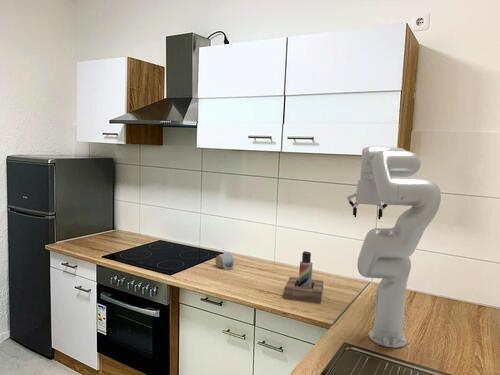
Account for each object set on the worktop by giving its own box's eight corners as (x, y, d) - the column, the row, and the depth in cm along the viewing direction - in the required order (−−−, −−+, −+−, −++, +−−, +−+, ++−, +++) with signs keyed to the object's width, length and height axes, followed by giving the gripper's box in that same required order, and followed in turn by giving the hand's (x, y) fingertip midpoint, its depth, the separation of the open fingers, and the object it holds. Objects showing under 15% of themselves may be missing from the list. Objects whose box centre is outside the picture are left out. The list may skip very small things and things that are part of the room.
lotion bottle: (302, 291, 178) (304, 249, 176) (313, 294, 175) (315, 252, 173) (295, 294, 174) (298, 251, 172) (306, 298, 170) (309, 254, 168)
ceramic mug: (214, 266, 213) (214, 252, 212) (226, 264, 218) (226, 250, 217) (225, 271, 205) (225, 257, 204) (237, 269, 210) (237, 255, 209)
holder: (320, 303, 165) (321, 292, 164) (283, 298, 169) (284, 287, 168) (323, 291, 180) (323, 280, 180) (289, 286, 184) (289, 276, 184)
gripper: (390, 177, 160) (388, 218, 162) (348, 175, 164) (345, 215, 166) (392, 178, 153) (389, 221, 154) (348, 176, 157) (345, 217, 159)
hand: (367, 217), depth 160 cm, fingers open, 9 cm apart
